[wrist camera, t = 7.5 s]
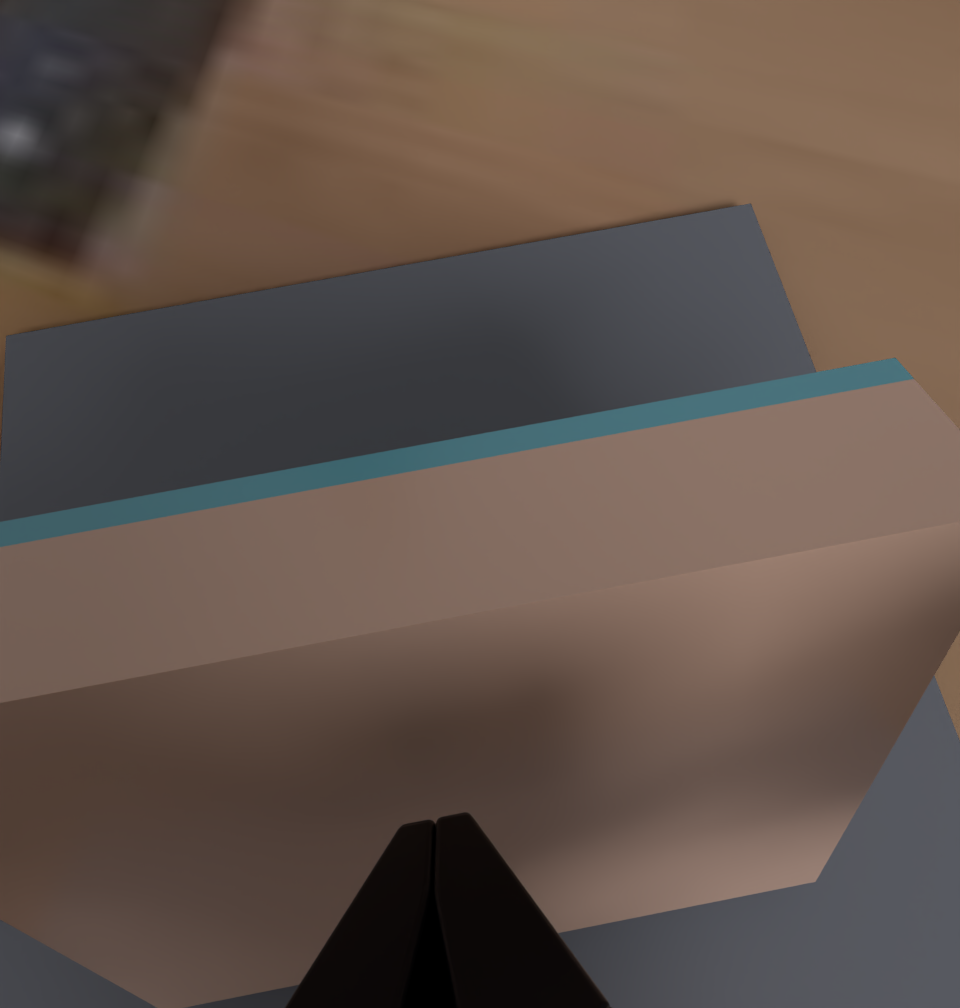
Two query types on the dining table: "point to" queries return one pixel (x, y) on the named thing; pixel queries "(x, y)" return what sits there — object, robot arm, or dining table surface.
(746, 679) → the tile
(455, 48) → the dining table surface
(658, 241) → the mat
